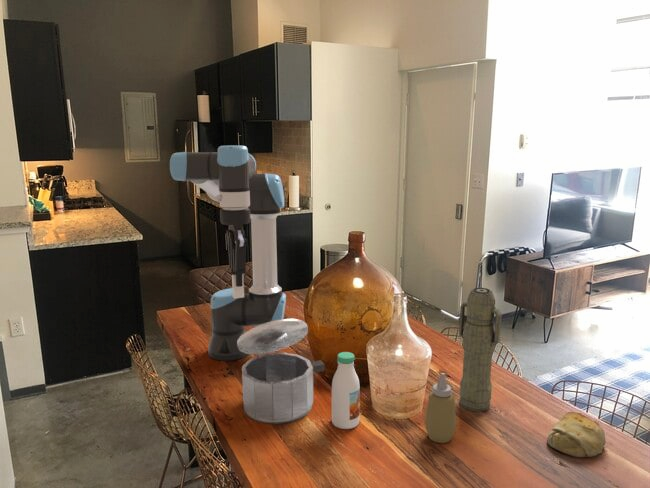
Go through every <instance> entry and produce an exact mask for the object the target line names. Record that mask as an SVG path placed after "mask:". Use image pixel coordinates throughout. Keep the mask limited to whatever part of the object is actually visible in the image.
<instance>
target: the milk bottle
mask: <svg viewBox="0 0 650 488" xmlns="http://www.w3.org/2000/svg"><path fill="white" fill-rule="evenodd" d="M354 360H355V355H354V353H352V352H350V351H342V352H339V353H338V354H337V361H336V363H337V364H338V365H337V369H336V371H335V372H334V375H333V376H332V377H333V378H332V381H331V423H332V425H333V426H334V427H335V428H337V429H342V430H350V429H354V428H356V427H357V426H358V425H359V423H360V412H361V411H360V410H361V409H360V408H361V407H360V406H361V404H360V403H361V400H360V399H361V395H360V394H361V393H360V392H361V390H360V389H361V388H360V379H359V376H358V374H357V373H356V370H355V364H354Z"/></svg>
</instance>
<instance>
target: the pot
mask: <svg viewBox="0 0 650 488" xmlns="http://www.w3.org/2000/svg"><path fill="white" fill-rule="evenodd" d="M324 371H326V370H325V363H324V362H323V361H322V360H315V361H311V360H310V359H307V358H306V357H303V356H302V355H299V354H295V353H290V352H271V353H265V354H259V355H258V356H255V357H252V358H249V360H247V361H246V362H245V363H244V364H243V365H242V366H241V376H242V377H241V378H242V379H241V380H242V384H241V385H242V399H243V400H242V401H243V402H242V403H243V411H244V413H245V415H246V416H247V417H248V418H249V419H252V420H253V421H256V422H259V423H263V424H269V425H270V424H271V425H275V424H276V425H279V424H287V423H291V422H295V421H298V420H300V419H301V418H304V417H305V416H306V415H308V414H309V413H310V412H311V409H312V408H313V404H314V373H318V372H324Z"/></svg>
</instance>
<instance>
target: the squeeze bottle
mask: <svg viewBox="0 0 650 488" xmlns="http://www.w3.org/2000/svg"><path fill="white" fill-rule="evenodd" d="M455 400H456V398H455V395H454V394H453V393H452V386H450V385H449V384H448V382H447V378H446V373H443V372H441V373H440V375H439V378H438V382H437V383H434V384H433V385H432V391H431V392H430V393H429V395H428V400H427V405H426V406H427V407H426V411H425V412H426V413H425V418H424V426H425V429H426V433H427V437H428V438H429V439H430V440H431V441H433V442H434V443H439V444H445V443H449V442H450V441H451V440H452V438H453V435H454V433H455V432H456V428H457V418H456V417H457V416H456V401H455Z"/></svg>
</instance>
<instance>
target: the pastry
mask: <svg viewBox="0 0 650 488" xmlns="http://www.w3.org/2000/svg"><path fill="white" fill-rule="evenodd" d="M556 422H557V423H555V425H554V426H553V427H552V429H551V430H550V432H549V433H548V435H547V439H546V442H547V445H549V447H551V448H553V449H555V450H557V451H559V452H560V453H564V454H566V455H569V456H571V457H575V458H591V457H593V458H594V457H596V456H597V455H600V454H602V452H603V450H604V449H603V448H604V447H605V446H606V441H607V440H606V433H605V430H604V429H603V427H602V426H601V425H600V423H599V422H597V421H596V420H593V419H592V418H590V417H589V416H586V415H584V414H582V413H581V412H575V411H567V412H566V413H564V415H563V416H562V417H560V420H559V421H556Z"/></svg>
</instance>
